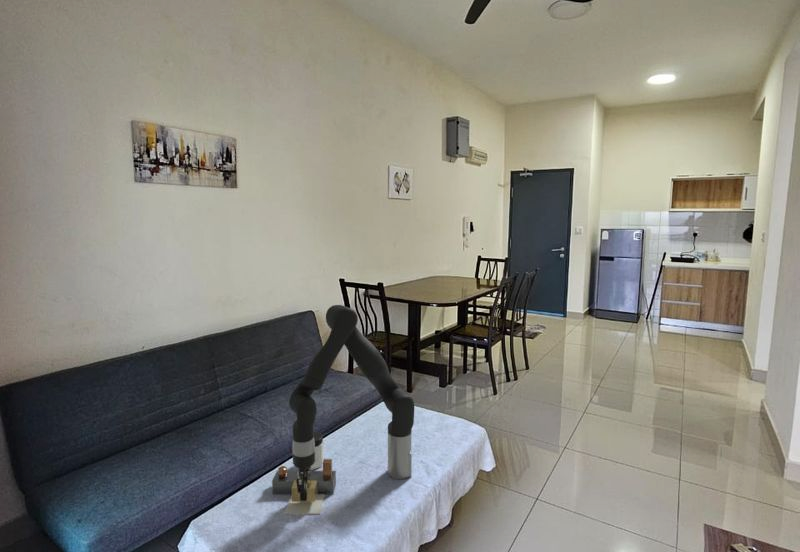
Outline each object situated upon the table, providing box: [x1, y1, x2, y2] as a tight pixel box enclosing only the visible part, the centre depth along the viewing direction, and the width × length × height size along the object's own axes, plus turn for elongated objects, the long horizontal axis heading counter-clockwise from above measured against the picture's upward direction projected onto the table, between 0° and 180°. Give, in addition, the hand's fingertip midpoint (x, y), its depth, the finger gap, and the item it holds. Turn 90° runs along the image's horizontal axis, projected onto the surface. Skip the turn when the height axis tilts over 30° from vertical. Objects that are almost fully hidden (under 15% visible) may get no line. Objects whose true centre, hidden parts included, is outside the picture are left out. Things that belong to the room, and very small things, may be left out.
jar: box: [311, 431, 324, 471], centre depth 179 cm, size 9×8×12 cm
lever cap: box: [291, 480, 318, 502], centre depth 154 cm, size 8×4×5 cm, turn 90°
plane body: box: [271, 458, 337, 495], centre depth 163 cm, size 22×6×11 cm, turn 90°
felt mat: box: [284, 494, 326, 515], centre depth 155 cm, size 12×10×1 cm
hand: (305, 495), depth 154 cm, fingers closed on lever cap, 4 cm apart
